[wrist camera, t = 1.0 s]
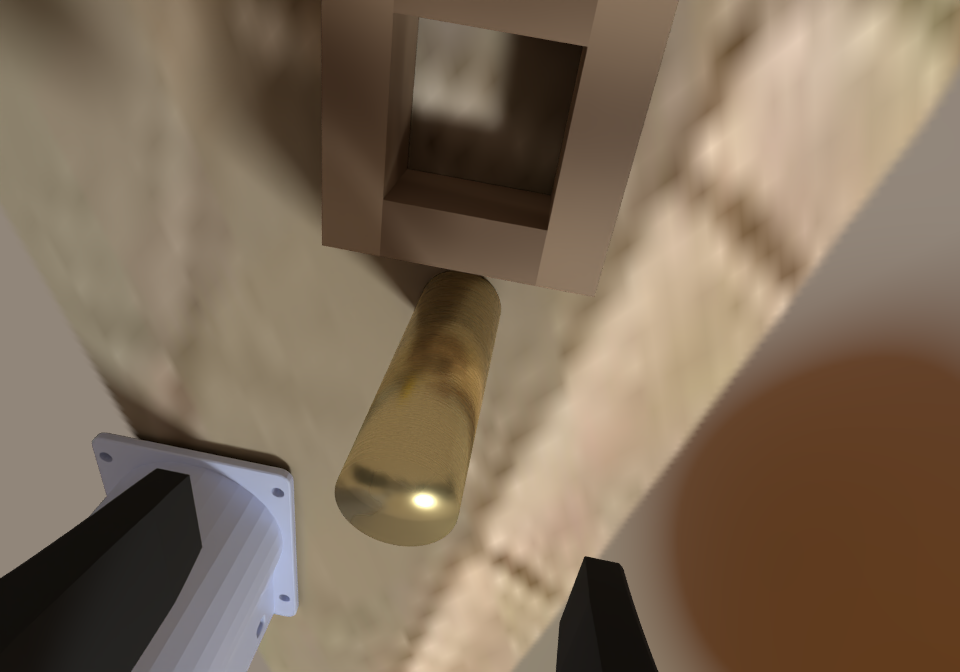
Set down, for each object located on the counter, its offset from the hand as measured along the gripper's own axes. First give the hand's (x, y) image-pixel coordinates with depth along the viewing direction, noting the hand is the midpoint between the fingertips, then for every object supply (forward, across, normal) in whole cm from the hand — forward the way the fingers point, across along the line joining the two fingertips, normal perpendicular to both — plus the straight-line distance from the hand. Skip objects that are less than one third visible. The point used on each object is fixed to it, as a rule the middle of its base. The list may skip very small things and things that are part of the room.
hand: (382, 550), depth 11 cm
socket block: (+9, 0, -6) cm, 11 cm away
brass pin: (+9, 0, 0) cm, 9 cm away
